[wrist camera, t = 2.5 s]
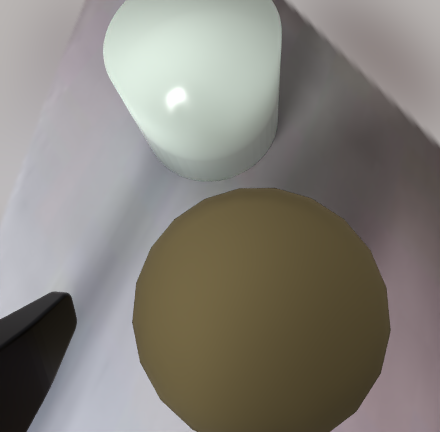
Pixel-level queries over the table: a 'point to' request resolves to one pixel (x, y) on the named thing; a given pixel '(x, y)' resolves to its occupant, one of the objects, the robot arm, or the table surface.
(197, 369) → the pepper shaker
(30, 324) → the robot arm
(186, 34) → the pale mint rounded cylinder
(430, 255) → the table surface
